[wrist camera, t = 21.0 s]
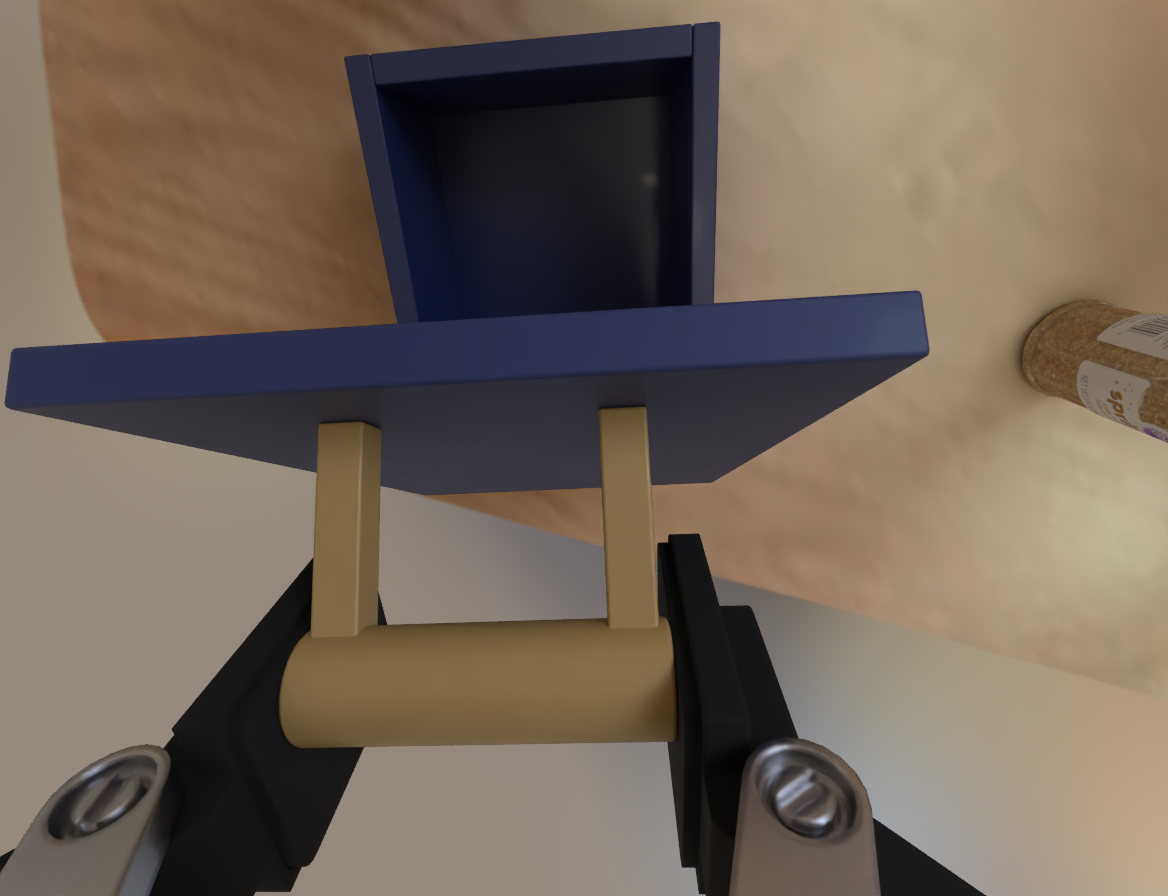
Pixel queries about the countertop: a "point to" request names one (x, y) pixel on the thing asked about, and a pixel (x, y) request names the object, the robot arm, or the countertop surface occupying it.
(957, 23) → the countertop surface
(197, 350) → the case lid
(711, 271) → the case
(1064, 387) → the sprinkles bottle
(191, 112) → the countertop surface
